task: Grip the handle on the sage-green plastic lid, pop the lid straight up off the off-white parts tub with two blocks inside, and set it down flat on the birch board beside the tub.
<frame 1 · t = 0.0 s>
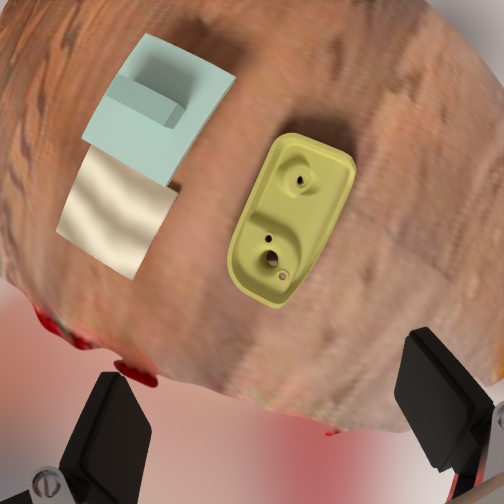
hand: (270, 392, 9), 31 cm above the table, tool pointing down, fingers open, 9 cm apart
plastic component: (285, 212, 39), on the table
board: (112, 211, 37), on the table
lid: (156, 107, 29), point 5 cm above the table, touching tub
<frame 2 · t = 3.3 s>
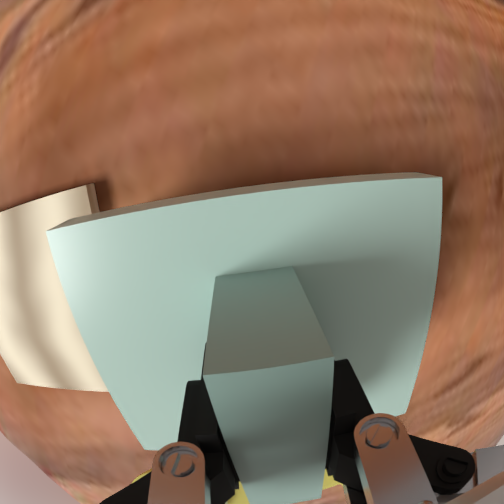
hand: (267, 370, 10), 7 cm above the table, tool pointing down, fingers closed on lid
plastic component: (242, 460, 24), on the table
board: (40, 305, 17), on the table
lid: (261, 331, 12), point 5 cm above the table, touching gripper
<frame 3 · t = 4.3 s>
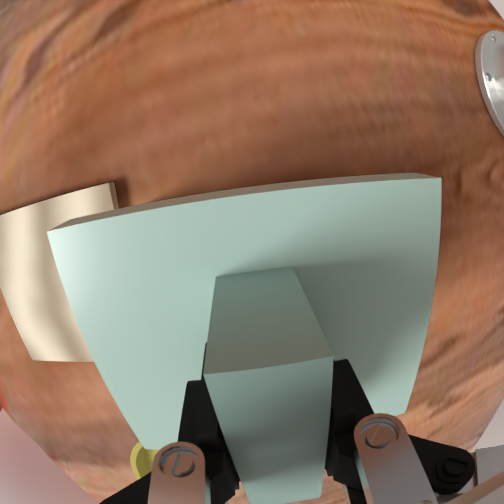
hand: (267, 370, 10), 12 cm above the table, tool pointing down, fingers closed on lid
plastic component: (234, 430, 28), on the table
board: (61, 285, 21), on the table
lid: (261, 331, 12), point 9 cm above the table, touching gripper
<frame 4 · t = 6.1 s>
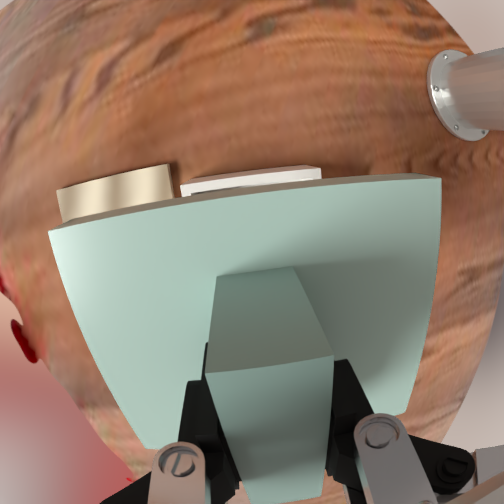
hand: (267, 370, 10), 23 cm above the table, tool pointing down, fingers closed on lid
board: (121, 236, 32), on the table
lid: (262, 331, 12), point 21 cm above the table, touching gripper
tub: (253, 217, 32), on the table
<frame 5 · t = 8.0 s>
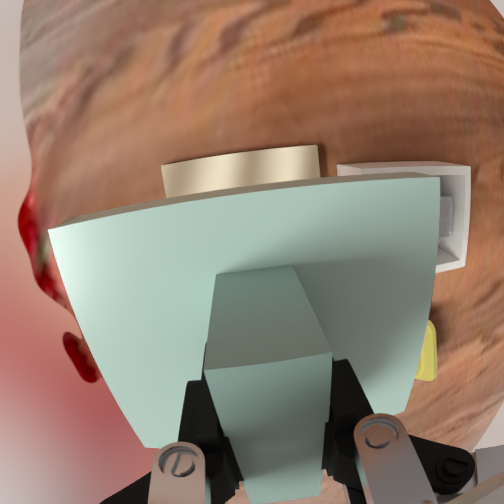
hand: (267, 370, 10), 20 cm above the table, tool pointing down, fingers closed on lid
plastic component: (354, 354, 35), on the table
board: (248, 226, 28), on the table
lid: (261, 329, 12), point 17 cm above the table, touching gripper
steel block: (415, 209, 28), point 1 cm above the table, touching tub
tub: (392, 209, 28), on the table
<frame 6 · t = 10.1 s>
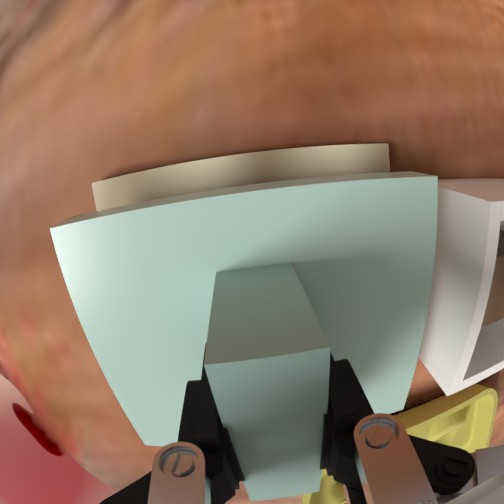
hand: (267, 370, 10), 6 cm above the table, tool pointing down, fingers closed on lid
walnut block: (461, 262, 15), point 1 cm above the table, touching tub
plastic component: (394, 431, 22), on the table
board: (257, 292, 16), on the table
lid: (260, 327, 12), point 3 cm above the table, touching gripper
tub: (478, 252, 16), on the table
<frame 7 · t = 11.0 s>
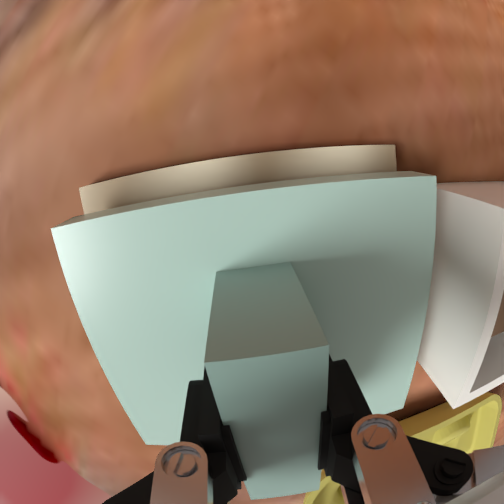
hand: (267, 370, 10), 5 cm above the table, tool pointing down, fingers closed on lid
plastic component: (396, 437, 21), on the table
board: (255, 302, 15), on the table
lid: (260, 326, 12), point 2 cm above the table, touching gripper
tub: (485, 258, 15), on the table
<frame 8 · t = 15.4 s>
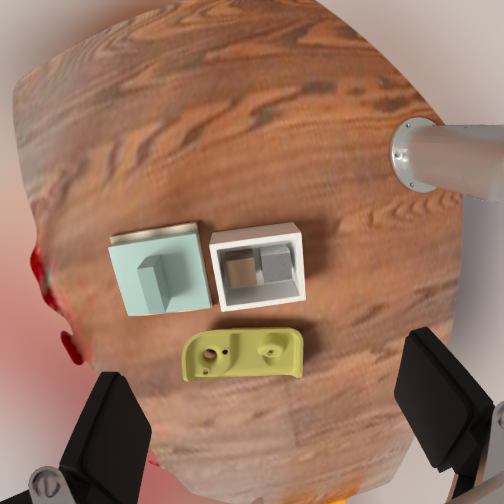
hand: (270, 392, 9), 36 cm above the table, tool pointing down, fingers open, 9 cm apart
walnut block: (240, 262, 45), point 1 cm above the table, touching tub
plastic component: (243, 345, 52), on the table
board: (162, 271, 46), on the table
lid: (161, 273, 45), point 1 cm above the table, touching board
steel block: (273, 258, 45), point 1 cm above the table, touching tub
tub: (256, 258, 46), on the table
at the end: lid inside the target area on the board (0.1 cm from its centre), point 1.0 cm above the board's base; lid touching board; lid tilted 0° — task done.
